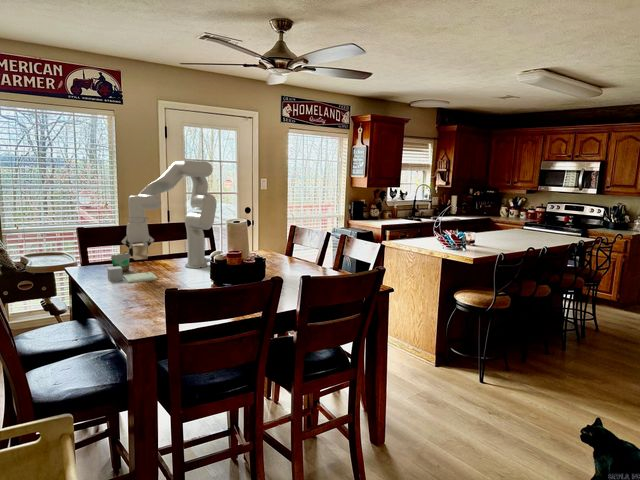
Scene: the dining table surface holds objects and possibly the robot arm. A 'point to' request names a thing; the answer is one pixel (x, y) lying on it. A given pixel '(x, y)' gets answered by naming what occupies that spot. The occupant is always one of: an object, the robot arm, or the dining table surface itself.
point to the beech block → (139, 251)
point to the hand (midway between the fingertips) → (138, 255)
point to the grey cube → (115, 273)
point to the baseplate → (139, 277)
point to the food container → (121, 261)
